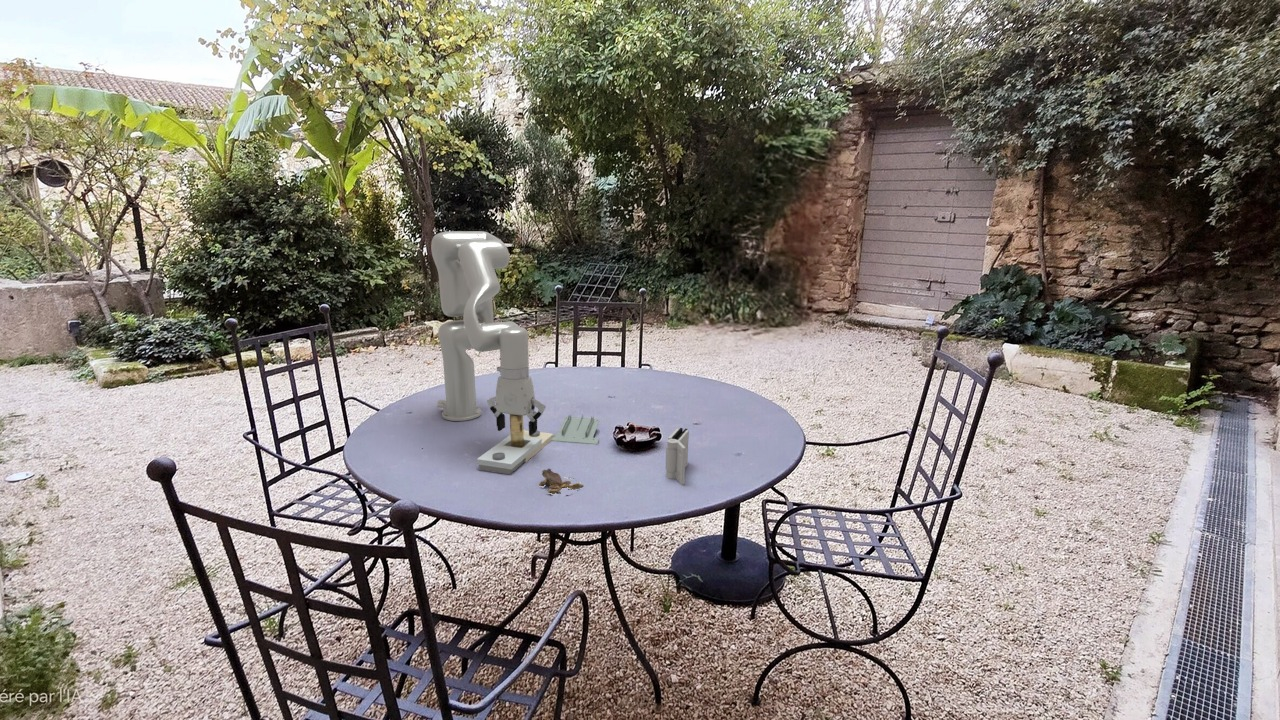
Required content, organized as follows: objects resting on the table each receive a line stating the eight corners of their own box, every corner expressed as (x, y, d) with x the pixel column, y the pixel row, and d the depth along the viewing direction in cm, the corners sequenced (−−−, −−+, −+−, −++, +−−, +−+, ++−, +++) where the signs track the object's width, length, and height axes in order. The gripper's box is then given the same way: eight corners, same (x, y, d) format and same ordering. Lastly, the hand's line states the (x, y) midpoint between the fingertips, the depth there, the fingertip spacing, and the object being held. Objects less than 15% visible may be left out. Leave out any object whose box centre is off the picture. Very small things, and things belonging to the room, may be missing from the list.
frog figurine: (523, 489, 145) (522, 475, 144) (559, 473, 154) (559, 460, 153) (554, 504, 138) (554, 489, 137) (590, 487, 147) (590, 473, 146)
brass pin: (508, 454, 164) (507, 414, 161) (515, 449, 168) (513, 410, 164) (520, 456, 163) (519, 415, 160) (526, 451, 167) (525, 411, 164)
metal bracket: (559, 410, 185) (606, 413, 182) (561, 424, 188) (607, 428, 185) (545, 438, 172) (595, 442, 170) (548, 453, 175) (597, 457, 173)
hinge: (684, 485, 148) (685, 448, 146) (663, 483, 149) (664, 446, 146) (688, 462, 162) (689, 428, 159) (668, 460, 162) (669, 426, 160)
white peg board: (511, 474, 152) (511, 461, 151) (477, 469, 155) (476, 456, 154) (553, 438, 176) (553, 426, 175) (523, 434, 179) (522, 422, 178)
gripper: (479, 373, 158) (482, 432, 163) (537, 379, 154) (539, 440, 158) (493, 366, 165) (496, 423, 170) (549, 372, 161) (551, 430, 165)
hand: (516, 431), depth 164 cm, fingers open, 9 cm apart
